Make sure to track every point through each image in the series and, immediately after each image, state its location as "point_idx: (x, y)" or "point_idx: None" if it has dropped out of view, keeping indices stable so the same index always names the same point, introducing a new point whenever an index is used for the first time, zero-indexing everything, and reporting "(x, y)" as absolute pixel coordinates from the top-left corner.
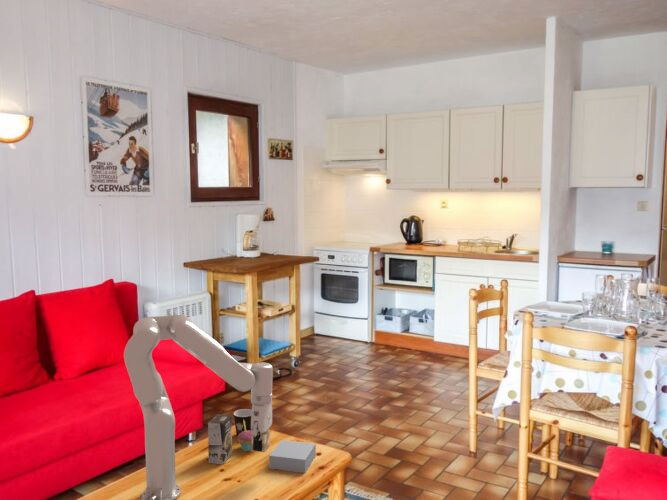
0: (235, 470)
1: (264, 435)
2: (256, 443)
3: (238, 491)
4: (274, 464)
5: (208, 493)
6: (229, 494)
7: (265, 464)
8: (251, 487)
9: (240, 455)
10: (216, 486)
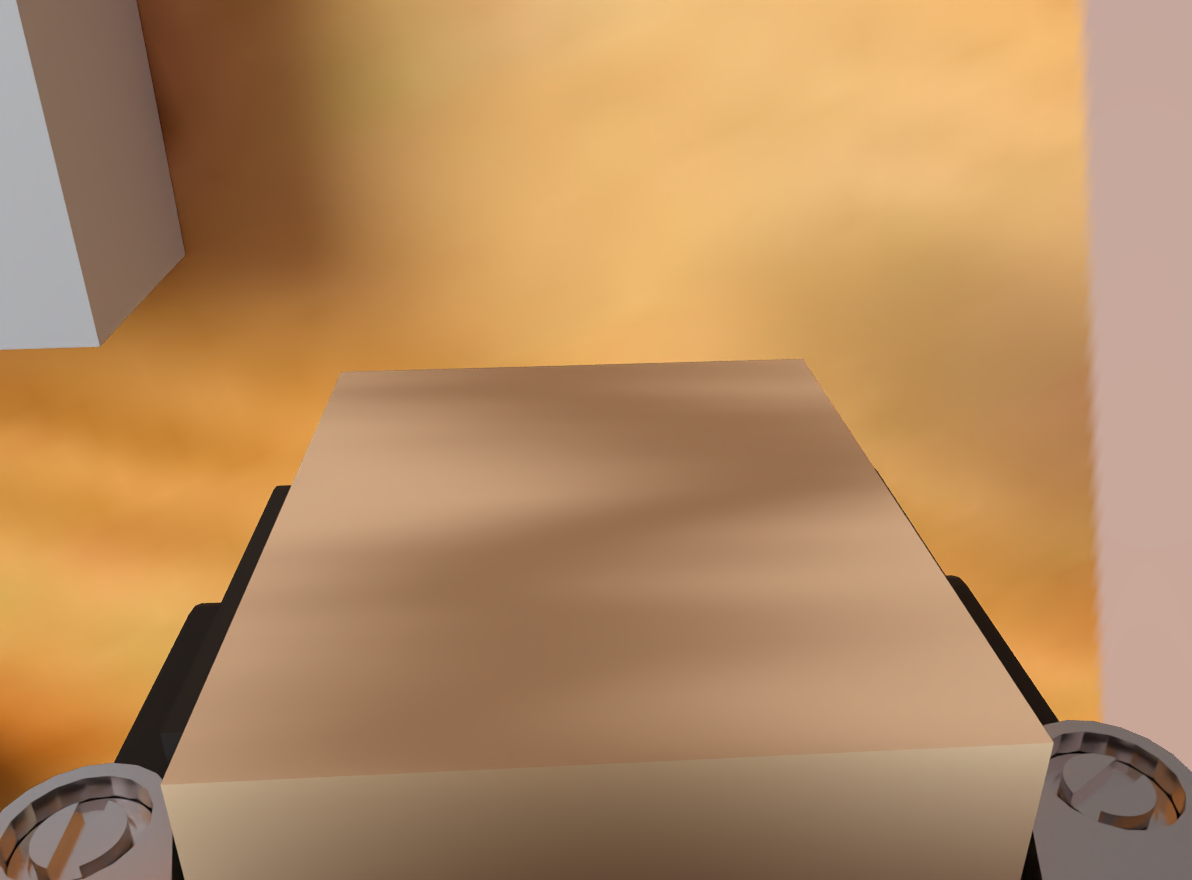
0: None
1: (972, 791)
2: None
3: (1010, 421)
4: (135, 175)
5: (1078, 715)
6: (1095, 495)
7: (79, 371)
8: (877, 292)
9: (4, 794)
10: None
